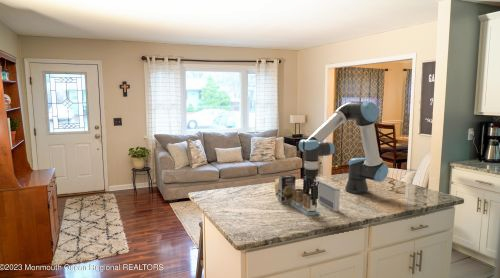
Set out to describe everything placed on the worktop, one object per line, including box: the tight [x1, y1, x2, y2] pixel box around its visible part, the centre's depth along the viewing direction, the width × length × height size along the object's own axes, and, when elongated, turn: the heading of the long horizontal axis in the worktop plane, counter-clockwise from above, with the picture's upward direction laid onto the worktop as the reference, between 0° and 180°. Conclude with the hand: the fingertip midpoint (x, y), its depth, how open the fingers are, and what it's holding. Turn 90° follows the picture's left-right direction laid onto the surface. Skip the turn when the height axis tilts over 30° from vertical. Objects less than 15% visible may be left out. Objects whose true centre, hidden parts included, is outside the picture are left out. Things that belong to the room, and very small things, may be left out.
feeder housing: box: [317, 180, 341, 212], centre depth 198 cm, size 3×18×13 cm, turn 19°
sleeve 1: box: [293, 188, 304, 205], centre depth 199 cm, size 6×6×8 cm
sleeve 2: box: [303, 193, 318, 211], centre depth 187 cm, size 6×6×8 cm
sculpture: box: [273, 177, 279, 194], centre depth 225 cm, size 11×12×11 cm
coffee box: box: [277, 174, 297, 204], centre depth 208 cm, size 9×6×16 cm
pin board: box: [289, 202, 320, 217], centre depth 194 cm, size 8×20×6 cm, turn 19°
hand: (309, 208), depth 188 cm, fingers closed on sleeve 2, 6 cm apart
